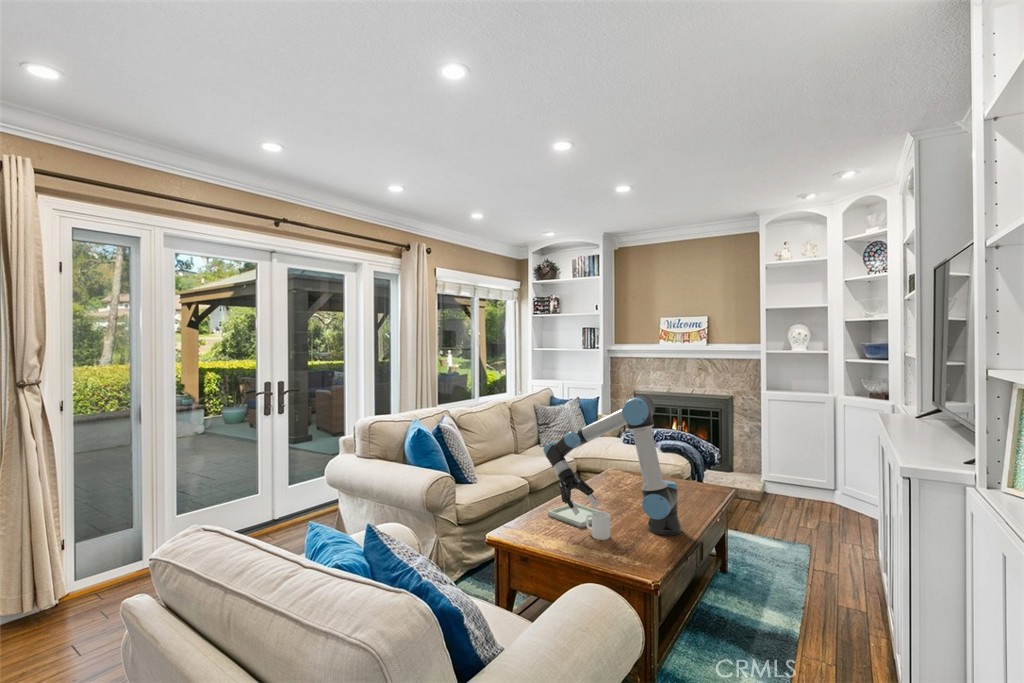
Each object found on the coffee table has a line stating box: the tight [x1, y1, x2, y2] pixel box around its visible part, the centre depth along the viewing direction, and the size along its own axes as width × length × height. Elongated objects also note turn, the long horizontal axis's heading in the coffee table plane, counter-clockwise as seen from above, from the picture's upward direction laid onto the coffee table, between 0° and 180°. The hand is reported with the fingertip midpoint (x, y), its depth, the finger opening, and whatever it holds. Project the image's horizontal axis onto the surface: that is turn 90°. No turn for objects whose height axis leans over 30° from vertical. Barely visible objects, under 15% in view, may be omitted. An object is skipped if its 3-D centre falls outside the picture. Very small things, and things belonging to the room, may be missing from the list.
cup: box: [585, 511, 611, 541], centre depth 233 cm, size 8×12×10 cm
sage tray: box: [547, 502, 602, 529], centre depth 257 cm, size 22×20×2 cm
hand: (587, 510), depth 237 cm, fingers open, 13 cm apart
